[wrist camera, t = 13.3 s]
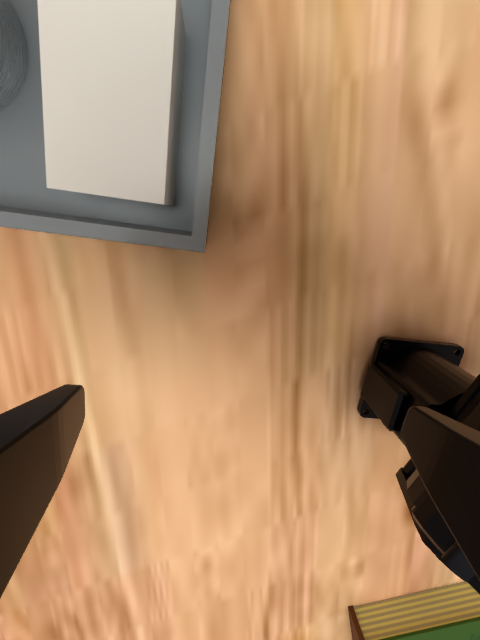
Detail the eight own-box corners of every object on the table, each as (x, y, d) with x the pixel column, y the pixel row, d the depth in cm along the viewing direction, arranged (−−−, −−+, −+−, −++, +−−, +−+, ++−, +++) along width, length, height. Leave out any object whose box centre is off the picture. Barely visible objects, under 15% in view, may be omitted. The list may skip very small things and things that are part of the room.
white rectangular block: (185, 33, 16) (177, -21, 12) (174, 205, 18) (164, 204, 14) (78, 11, 15) (34, -54, 11) (82, 192, 18) (46, 187, 14)
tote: (235, -50, 15) (243, -134, 12) (205, 244, 20) (204, 252, 16) (-194, -155, 13) (-355, -300, 10) (-121, 201, 18) (-211, 199, 14)
